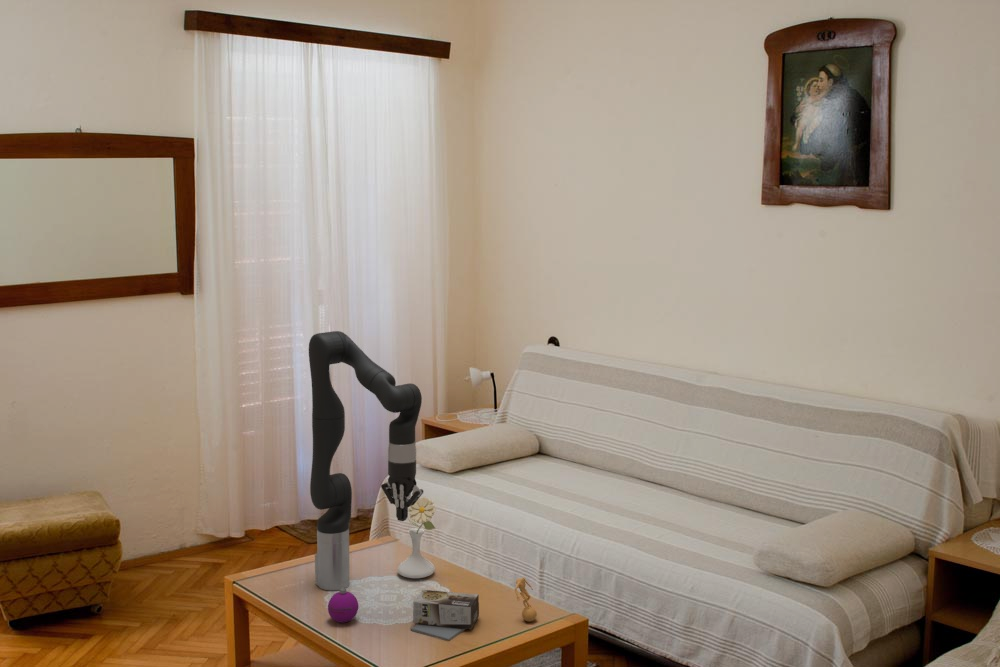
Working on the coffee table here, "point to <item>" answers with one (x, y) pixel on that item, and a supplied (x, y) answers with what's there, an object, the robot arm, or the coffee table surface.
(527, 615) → the figurine
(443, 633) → the slate mat
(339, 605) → the christmas ornament
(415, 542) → the flower in vase
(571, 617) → the coffee table surface
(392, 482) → the robot arm
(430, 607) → the coffee box
